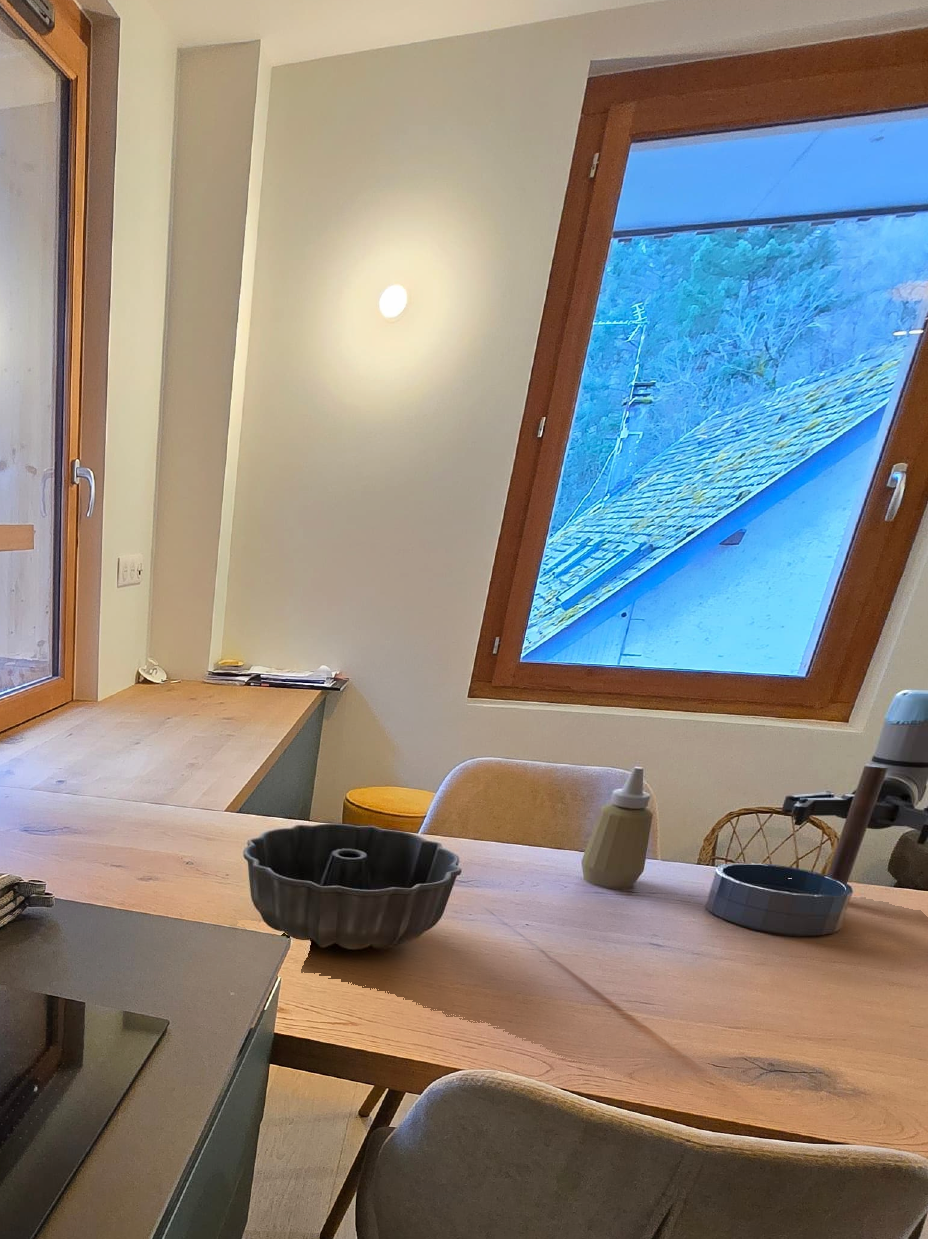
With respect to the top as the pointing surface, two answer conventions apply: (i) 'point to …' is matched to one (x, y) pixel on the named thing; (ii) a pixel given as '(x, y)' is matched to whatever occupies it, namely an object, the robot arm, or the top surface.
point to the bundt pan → (349, 883)
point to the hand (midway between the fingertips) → (859, 824)
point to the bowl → (778, 899)
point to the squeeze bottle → (620, 837)
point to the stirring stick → (857, 821)
